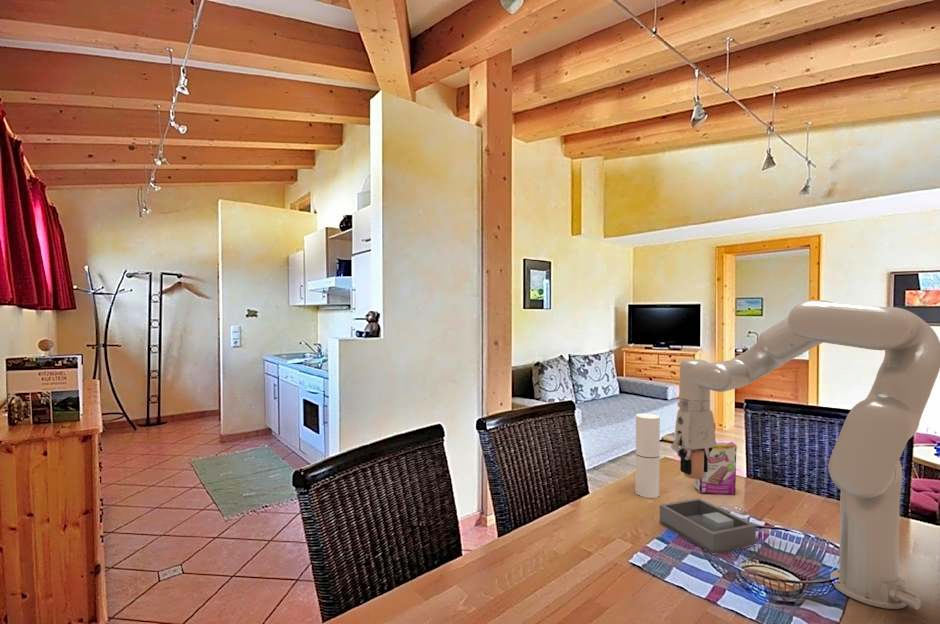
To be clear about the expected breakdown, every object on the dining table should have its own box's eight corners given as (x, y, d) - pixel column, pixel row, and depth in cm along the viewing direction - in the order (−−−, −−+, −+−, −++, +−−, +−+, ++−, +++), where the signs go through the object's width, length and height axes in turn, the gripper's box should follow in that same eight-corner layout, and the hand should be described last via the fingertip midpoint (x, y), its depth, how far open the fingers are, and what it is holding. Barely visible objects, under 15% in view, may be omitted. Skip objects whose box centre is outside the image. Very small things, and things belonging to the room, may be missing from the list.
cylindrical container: (635, 496, 149) (636, 417, 149) (634, 488, 156) (635, 412, 156) (660, 499, 147) (660, 419, 147) (658, 490, 154) (658, 414, 153)
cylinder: (708, 477, 127) (708, 451, 127) (693, 479, 125) (693, 453, 125) (693, 471, 131) (693, 446, 131) (679, 473, 130) (679, 448, 130)
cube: (733, 539, 119) (733, 520, 119) (718, 542, 118) (718, 522, 118) (717, 530, 124) (717, 511, 124) (702, 533, 122) (702, 514, 122)
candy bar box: (700, 494, 151) (700, 443, 151) (694, 488, 156) (694, 438, 156) (736, 495, 150) (737, 444, 150) (729, 489, 155) (730, 439, 155)
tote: (755, 545, 118) (755, 525, 118) (712, 554, 114) (713, 534, 114) (698, 515, 135) (699, 498, 135) (659, 522, 131) (659, 504, 131)
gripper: (680, 410, 122) (679, 480, 122) (730, 405, 127) (729, 472, 128) (659, 404, 129) (658, 470, 129) (707, 400, 134) (707, 464, 135)
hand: (693, 471), depth 128 cm, fingers closed on cylinder, 4 cm apart
